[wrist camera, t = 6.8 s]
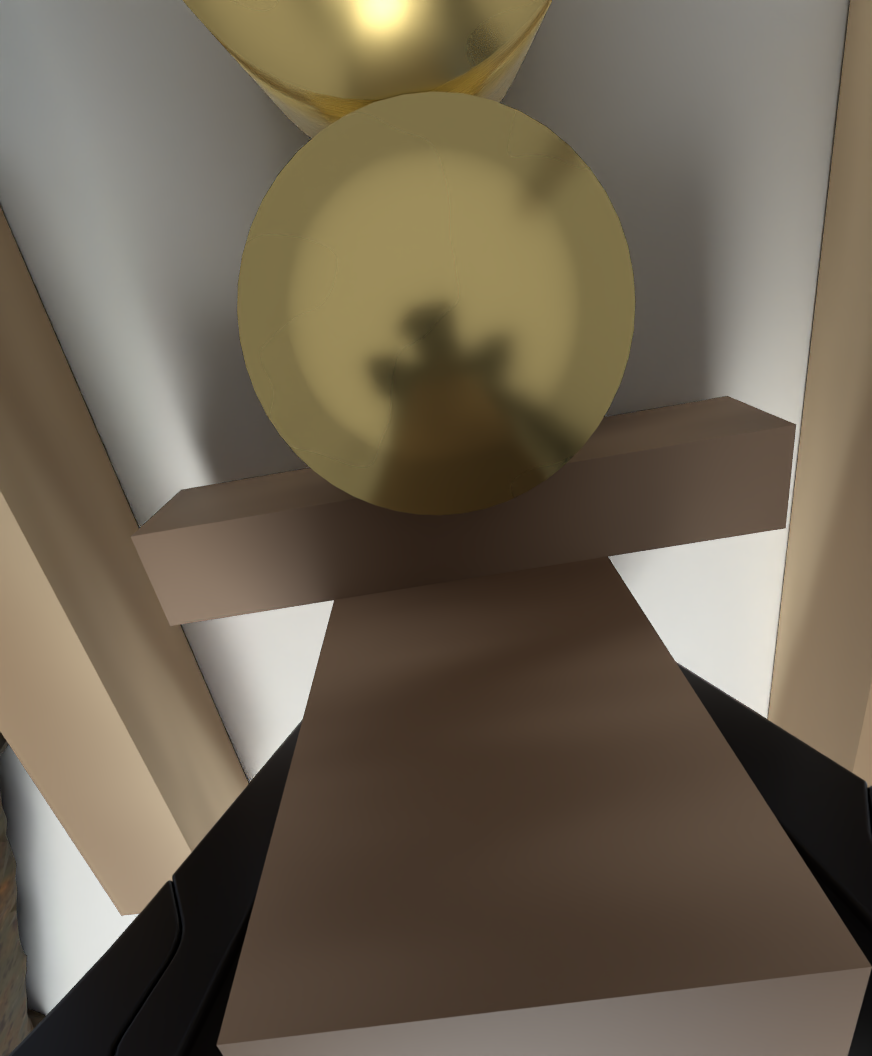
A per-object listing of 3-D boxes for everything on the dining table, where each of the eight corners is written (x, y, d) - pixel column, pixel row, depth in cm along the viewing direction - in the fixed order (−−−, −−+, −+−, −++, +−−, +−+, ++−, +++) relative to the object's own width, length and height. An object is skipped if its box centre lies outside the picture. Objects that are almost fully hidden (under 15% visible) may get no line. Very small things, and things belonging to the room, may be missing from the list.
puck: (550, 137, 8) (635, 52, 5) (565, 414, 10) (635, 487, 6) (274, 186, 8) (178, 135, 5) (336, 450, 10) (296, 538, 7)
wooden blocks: (1012, -56, 7) (1285, -204, 5) (857, 712, 13) (952, 810, 10) (-157, 178, 8) (-387, 144, 6) (172, 806, 13) (121, 915, 11)
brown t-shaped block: (727, 396, 9) (1485, 712, 3) (714, 669, 11) (1096, 1195, 5) (181, 489, 9) (-328, 957, 3) (276, 733, 12) (101, 1290, 5)
